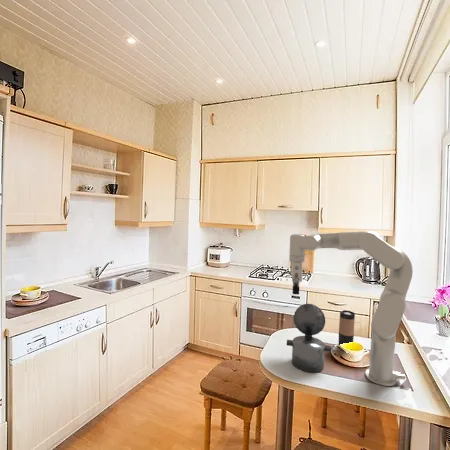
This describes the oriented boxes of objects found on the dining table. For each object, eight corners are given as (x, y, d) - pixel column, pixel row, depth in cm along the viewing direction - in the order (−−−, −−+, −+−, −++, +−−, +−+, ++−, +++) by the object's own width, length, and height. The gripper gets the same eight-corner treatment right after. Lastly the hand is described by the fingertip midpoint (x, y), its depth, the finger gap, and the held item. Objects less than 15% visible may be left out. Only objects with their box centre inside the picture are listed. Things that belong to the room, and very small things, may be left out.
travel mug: (354, 352, 159) (356, 315, 157) (339, 350, 160) (341, 314, 159) (351, 345, 166) (353, 310, 165) (336, 344, 168) (338, 309, 166)
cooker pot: (328, 358, 151) (329, 337, 150) (330, 376, 135) (332, 353, 134) (287, 352, 157) (288, 332, 156) (284, 368, 141) (285, 346, 140)
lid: (324, 339, 150) (324, 337, 153) (325, 305, 152) (325, 305, 155) (292, 334, 154) (293, 333, 157) (294, 302, 156) (294, 301, 159)
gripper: (304, 261, 143) (303, 296, 144) (304, 256, 160) (302, 287, 161) (289, 260, 145) (287, 295, 146) (289, 255, 161) (288, 286, 162)
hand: (295, 291), depth 153 cm, fingers open, 9 cm apart
